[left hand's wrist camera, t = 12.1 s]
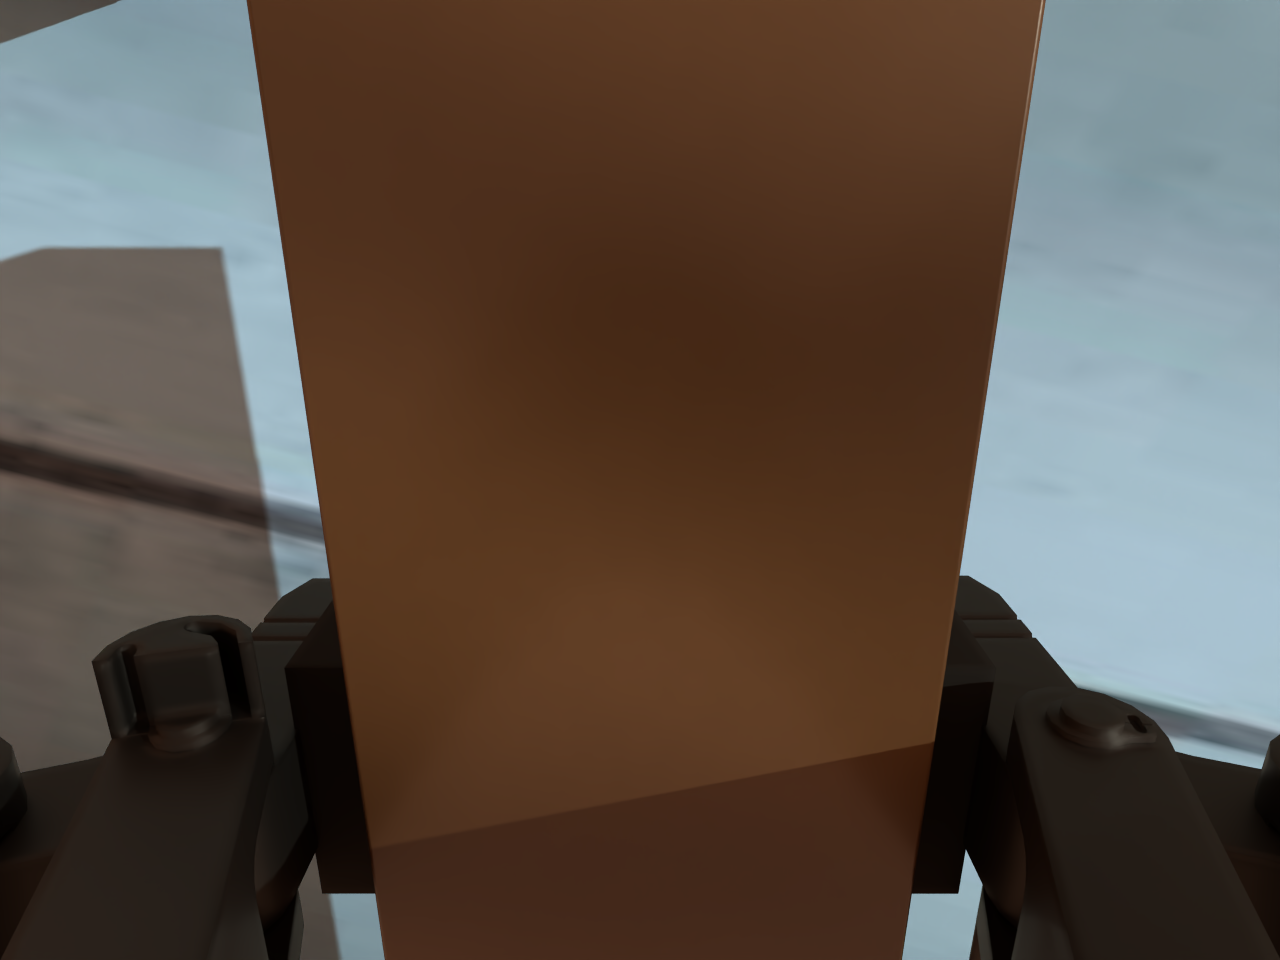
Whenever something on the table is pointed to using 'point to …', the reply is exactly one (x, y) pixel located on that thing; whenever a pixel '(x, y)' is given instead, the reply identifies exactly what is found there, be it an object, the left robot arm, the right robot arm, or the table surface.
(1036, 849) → the left robot arm
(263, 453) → the table surface
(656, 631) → the post
